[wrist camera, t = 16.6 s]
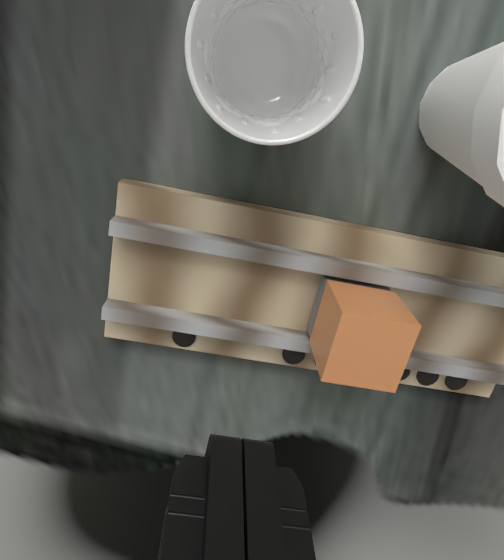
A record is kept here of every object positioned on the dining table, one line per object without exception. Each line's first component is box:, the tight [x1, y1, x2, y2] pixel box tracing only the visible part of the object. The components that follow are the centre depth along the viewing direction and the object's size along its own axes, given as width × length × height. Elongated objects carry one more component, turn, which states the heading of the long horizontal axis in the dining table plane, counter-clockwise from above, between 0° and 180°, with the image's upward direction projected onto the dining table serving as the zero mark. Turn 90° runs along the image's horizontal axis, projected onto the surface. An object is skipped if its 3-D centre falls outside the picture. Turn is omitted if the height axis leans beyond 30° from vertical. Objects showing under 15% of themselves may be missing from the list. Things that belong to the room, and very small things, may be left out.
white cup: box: [185, 0, 364, 145], centre depth 24 cm, size 8×8×10 cm
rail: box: [101, 178, 504, 397], centre depth 34 cm, size 32×12×3 cm, turn 78°
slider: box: [307, 275, 422, 393], centre depth 31 cm, size 5×5×7 cm
